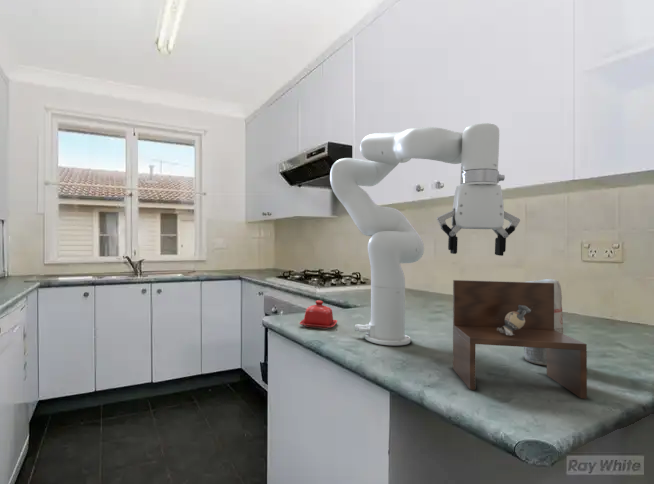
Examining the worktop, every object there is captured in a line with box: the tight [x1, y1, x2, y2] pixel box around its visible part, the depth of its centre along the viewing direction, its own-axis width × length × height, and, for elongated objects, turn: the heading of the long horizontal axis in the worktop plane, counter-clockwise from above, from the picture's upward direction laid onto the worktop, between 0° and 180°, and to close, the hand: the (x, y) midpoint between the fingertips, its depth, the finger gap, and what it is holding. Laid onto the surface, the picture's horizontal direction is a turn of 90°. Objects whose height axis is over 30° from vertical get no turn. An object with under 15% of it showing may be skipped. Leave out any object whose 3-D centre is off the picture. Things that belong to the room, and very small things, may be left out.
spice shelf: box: [452, 279, 588, 399], centre depth 76 cm, size 20×12×20 cm, turn 79°
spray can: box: [523, 278, 564, 366], centre depth 90 cm, size 8×8×20 cm
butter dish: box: [299, 299, 338, 330], centre depth 125 cm, size 12×12×8 cm
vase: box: [497, 305, 531, 336], centre depth 75 cm, size 5×5×6 cm
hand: (476, 254), depth 86 cm, fingers open, 9 cm apart
